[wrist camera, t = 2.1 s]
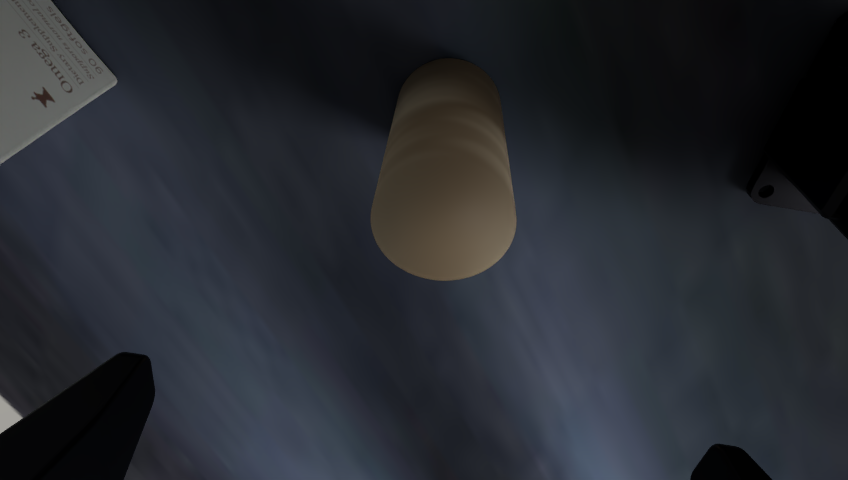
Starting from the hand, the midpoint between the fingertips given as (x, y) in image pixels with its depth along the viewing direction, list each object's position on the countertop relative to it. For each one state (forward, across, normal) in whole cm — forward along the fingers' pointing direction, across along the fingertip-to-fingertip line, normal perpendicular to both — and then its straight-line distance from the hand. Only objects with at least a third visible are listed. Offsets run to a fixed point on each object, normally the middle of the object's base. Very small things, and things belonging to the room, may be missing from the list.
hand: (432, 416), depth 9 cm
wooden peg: (+13, 0, 0) cm, 13 cm away
